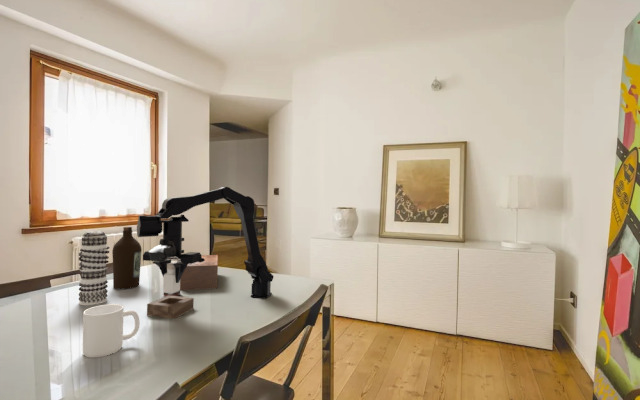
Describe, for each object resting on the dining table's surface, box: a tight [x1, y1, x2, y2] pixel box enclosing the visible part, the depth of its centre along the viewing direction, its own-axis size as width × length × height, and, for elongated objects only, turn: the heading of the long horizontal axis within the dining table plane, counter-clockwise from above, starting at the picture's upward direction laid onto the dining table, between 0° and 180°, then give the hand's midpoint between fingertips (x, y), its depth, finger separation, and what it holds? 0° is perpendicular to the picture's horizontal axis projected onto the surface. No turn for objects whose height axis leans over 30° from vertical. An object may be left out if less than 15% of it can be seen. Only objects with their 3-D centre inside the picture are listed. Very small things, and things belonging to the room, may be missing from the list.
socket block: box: [146, 295, 195, 319], centre depth 110 cm, size 10×10×4 cm
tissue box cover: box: [180, 254, 219, 291], centre depth 150 cm, size 26×14×10 cm, turn 17°
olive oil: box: [112, 226, 142, 290], centre depth 139 cm, size 11×11×25 cm
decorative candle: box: [78, 230, 110, 306], centre depth 119 cm, size 9×9×25 cm
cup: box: [82, 303, 140, 359], centre depth 83 cm, size 8×12×10 cm
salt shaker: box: [162, 262, 181, 294], centre depth 110 cm, size 4×4×10 cm
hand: (171, 282), depth 110 cm, fingers closed on salt shaker, 4 cm apart
